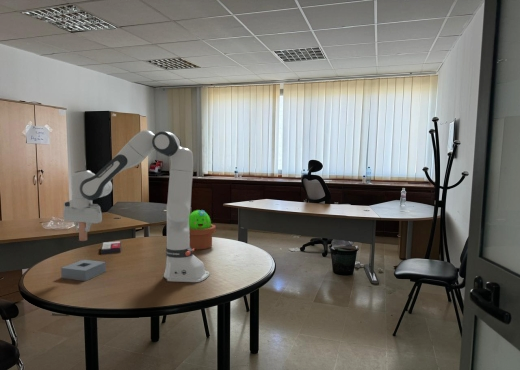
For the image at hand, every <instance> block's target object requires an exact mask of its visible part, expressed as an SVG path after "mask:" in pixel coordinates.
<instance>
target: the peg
mask: <svg viewBox="0 0 520 370" xmlns="http://www.w3.org/2000/svg"><path fill="white" fill-rule="evenodd" d="M86 227H87V225H86V223H85V222H79V231H78V233H79V234H78V238H79V239H78V241H80V242H85V241H88V232H87V231H85V228H86Z"/></svg>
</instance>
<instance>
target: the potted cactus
mask: <svg viewBox="0 0 520 370" xmlns="http://www.w3.org/2000/svg"><path fill="white" fill-rule="evenodd" d="M210 217H211V216H210V215H208V213H207V212H206V211H205V210H203V209H201V210H200V209H196V210H193V211H192V212H190V215H189V235H190V247H191V249H194V250H206V249H210V248H212V246H213V235H214V234H215V233H216V225H215V224H212V220H211V218H210Z"/></svg>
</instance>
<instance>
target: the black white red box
mask: <svg viewBox="0 0 520 370" xmlns="http://www.w3.org/2000/svg"><path fill="white" fill-rule="evenodd" d="M100 248H101V249H100V254H101V255H106V254H119V253H121V251H122V250H121V249H122V242H121V241H120V240H119V241H108V242H106V241H105V242H102V244H101V247H100Z"/></svg>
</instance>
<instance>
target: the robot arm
mask: <svg viewBox="0 0 520 370" xmlns="http://www.w3.org/2000/svg"><path fill="white" fill-rule="evenodd" d="M154 151H156V153H157V152H158V153H159V154H161V155H164V156H167V157H169V159H170V168H169V177H168V178H169V180H168V190H167V191H168V192H167V203H166V248H165V257H166V263H165V270H164V273H163V277H164V278H165V279H166V281H167V282H181V283H183V282H184V283H200V282H203V281H204V280H206V279H207V278H208V277H209V276H210V271H208V270H206V268H205V264H204V262H203V260H200V258H198V257H197V256H196V255H194V254H193V253H194V251H195V249H191V247H190V235H189V215H190V213H191V207H192V187H193V175H194V153H193V151H192V150H191V149H189V148H187V147H183V146H182V142H181V140H180V138H179V137H178V135H176V134H174V133H172V132H170V131H166V130H161V131H158V132H156V133H155V134H154V132H152V131H151V130H148V129H143V130H140V131H139V132H138V133H137V134H135V135H134V136H132V138H130V140H128V141H127V143H126V144H124V146H123V147H122V148H121V149H120V150H119V151H118V153H117V154H115V156H114V157H113V158H112V159H111V160H110V161H109V162H107V164H106V165H104V166H103V167H102V168H101V169H100V170H98V172H97V173H96V174H95V173H94V172H92V171H91V170H89V169H88V170H87V169H86V170H85V169H84V170H77V171H75V172H74V173H73V174H72V176H71V191H72V196H71V200H68V201H64V202H63V204H62V205H63V209H62V210H63V212H62V216H63V217H62V218H63V220H64V221H65V222H73V225H74V226H75V228H76V229H75V230H76V231H78V232H79V222H85V223H86V225H87V227H86V228H85V231H87V233H88V232H90V231H91V230H90V229H91V226H92V224H100V223H102V221H103V215H102V209H101V205H99V204H98V203H93V201H94V200H97V199H98V198H103V197H106V196H108V195H109V194H111V192H112V191H113V183H112V179H114V178H115V177H116V175H118V174H119V173H121V172H123V171H125V170H128V169H130V168H134V167H136V166H138V165H139V164H141V163H142V162H143V161H144V160H145V159H146V158H147V157H148V156H149V155H150V154H151V153H153V152H154Z"/></svg>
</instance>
